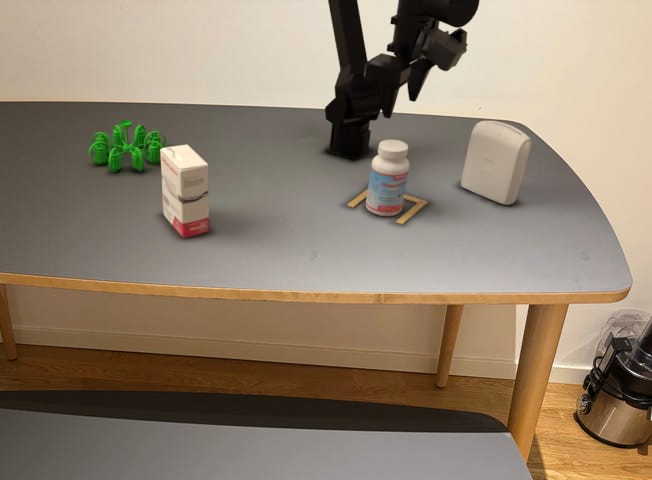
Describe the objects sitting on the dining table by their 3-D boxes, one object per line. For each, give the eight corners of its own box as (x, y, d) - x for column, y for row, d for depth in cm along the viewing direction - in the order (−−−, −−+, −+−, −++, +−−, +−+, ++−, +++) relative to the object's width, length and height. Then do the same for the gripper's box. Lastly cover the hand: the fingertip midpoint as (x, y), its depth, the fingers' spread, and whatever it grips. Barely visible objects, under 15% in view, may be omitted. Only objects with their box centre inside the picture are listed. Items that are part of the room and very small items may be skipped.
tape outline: (346, 205, 125) (346, 204, 125) (373, 185, 131) (373, 184, 131) (402, 224, 120) (402, 223, 120) (427, 202, 126) (427, 201, 126)
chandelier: (78, 150, 142) (74, 114, 137) (152, 136, 146) (149, 101, 142) (103, 182, 131) (98, 146, 127) (180, 167, 136) (179, 131, 132)
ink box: (211, 232, 118) (210, 163, 111) (182, 239, 117) (179, 169, 109) (189, 208, 124) (187, 141, 117) (162, 214, 123) (158, 147, 115)
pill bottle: (379, 220, 121) (390, 156, 114) (358, 204, 125) (366, 141, 118) (409, 212, 123) (421, 148, 116) (386, 197, 128) (396, 134, 120)
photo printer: (455, 186, 131) (470, 118, 123) (470, 179, 133) (486, 112, 125) (505, 208, 124) (524, 138, 116) (520, 200, 127) (540, 131, 119)
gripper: (438, 34, 104) (419, 139, 114) (489, 5, 116) (468, 103, 126) (368, 20, 110) (356, 122, 120) (424, -7, 121) (408, 89, 131)
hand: (400, 109), depth 124 cm, fingers open, 9 cm apart
